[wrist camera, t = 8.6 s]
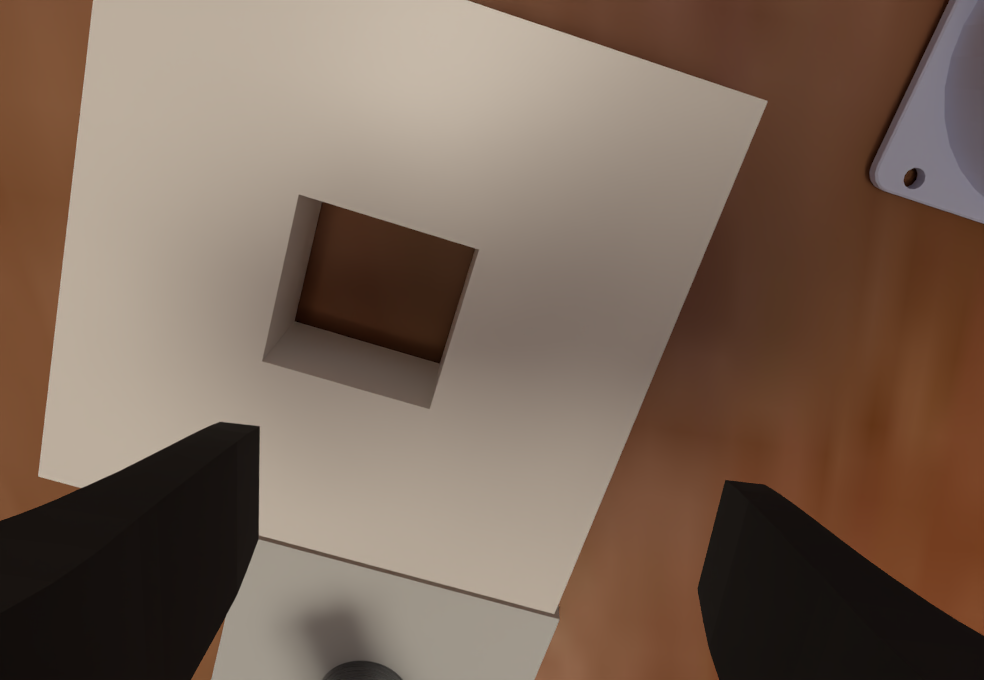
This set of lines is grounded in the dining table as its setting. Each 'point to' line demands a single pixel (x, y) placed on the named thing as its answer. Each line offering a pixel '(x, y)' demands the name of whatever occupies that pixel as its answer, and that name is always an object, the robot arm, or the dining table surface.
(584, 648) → the dining table surface
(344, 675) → the t key
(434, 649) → the grey mat
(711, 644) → the robot arm
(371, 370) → the key housing
